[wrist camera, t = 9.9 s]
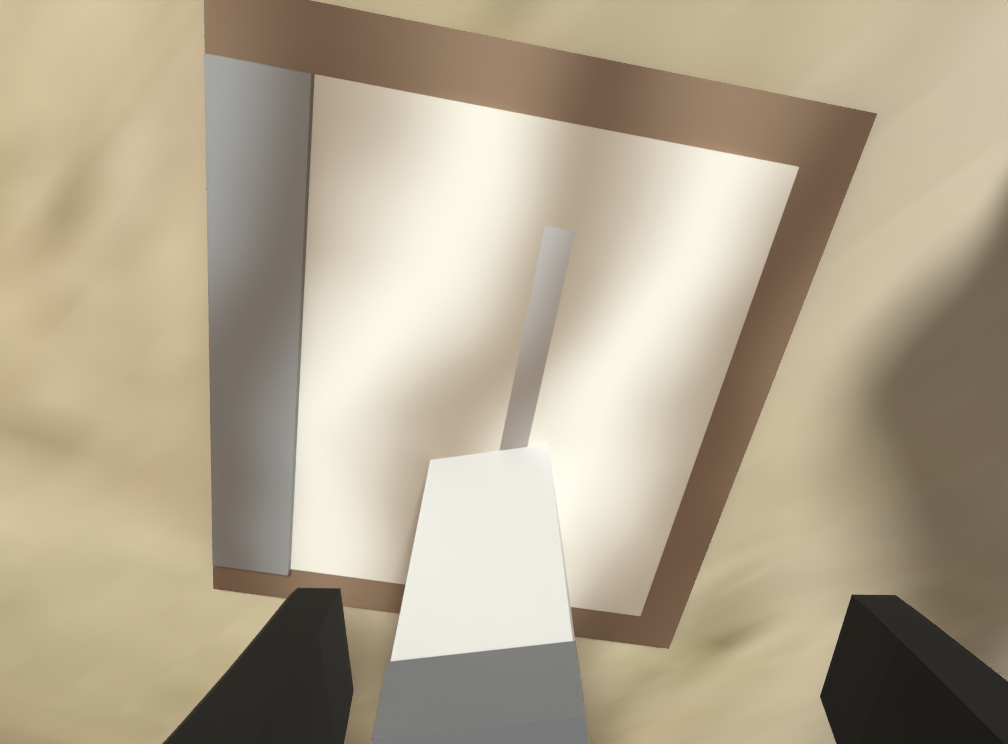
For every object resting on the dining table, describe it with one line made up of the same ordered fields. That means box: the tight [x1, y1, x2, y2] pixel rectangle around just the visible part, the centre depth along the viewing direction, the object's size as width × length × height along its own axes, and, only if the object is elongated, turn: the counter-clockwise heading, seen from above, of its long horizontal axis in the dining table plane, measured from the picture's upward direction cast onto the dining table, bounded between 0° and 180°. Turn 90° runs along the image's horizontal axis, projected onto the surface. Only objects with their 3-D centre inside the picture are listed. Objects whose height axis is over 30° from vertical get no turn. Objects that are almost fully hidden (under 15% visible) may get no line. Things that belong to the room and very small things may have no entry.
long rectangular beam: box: [371, 444, 590, 744], centre depth 16 cm, size 4×4×9 cm
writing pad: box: [204, 0, 877, 649], centre depth 18 cm, size 16×18×1 cm
